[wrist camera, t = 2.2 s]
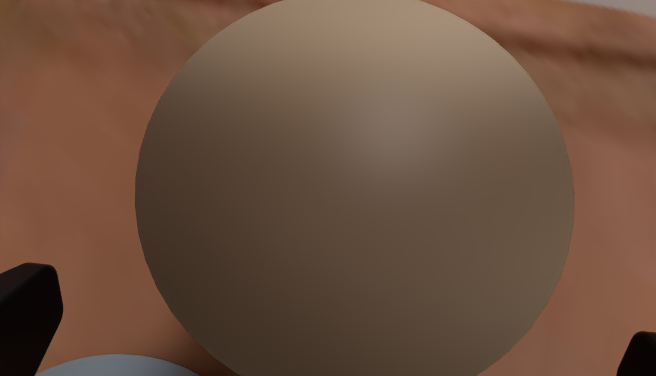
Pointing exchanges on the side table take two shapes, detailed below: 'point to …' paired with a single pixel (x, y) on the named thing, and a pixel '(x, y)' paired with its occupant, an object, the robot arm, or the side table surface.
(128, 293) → the side table surface
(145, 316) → the side table surface
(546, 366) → the side table surface
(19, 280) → the robot arm
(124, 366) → the mat
